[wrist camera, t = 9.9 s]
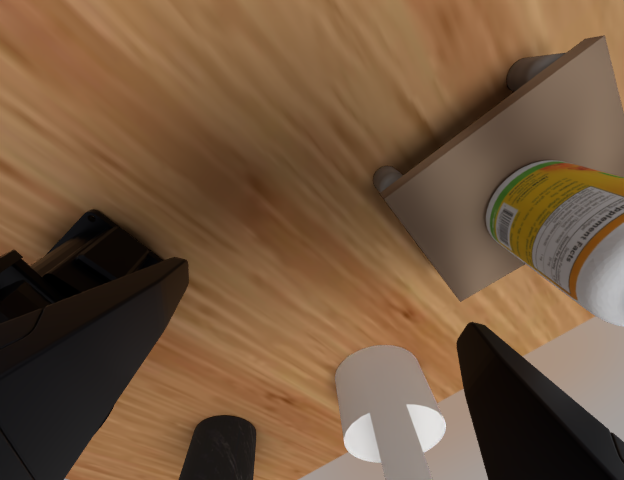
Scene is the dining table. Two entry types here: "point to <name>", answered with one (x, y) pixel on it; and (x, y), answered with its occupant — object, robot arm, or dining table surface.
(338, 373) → the base with upright slab
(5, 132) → the dining table surface
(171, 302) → the robot arm
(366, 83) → the dining table surface
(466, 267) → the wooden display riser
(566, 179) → the supplement bottle
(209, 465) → the travel mug
